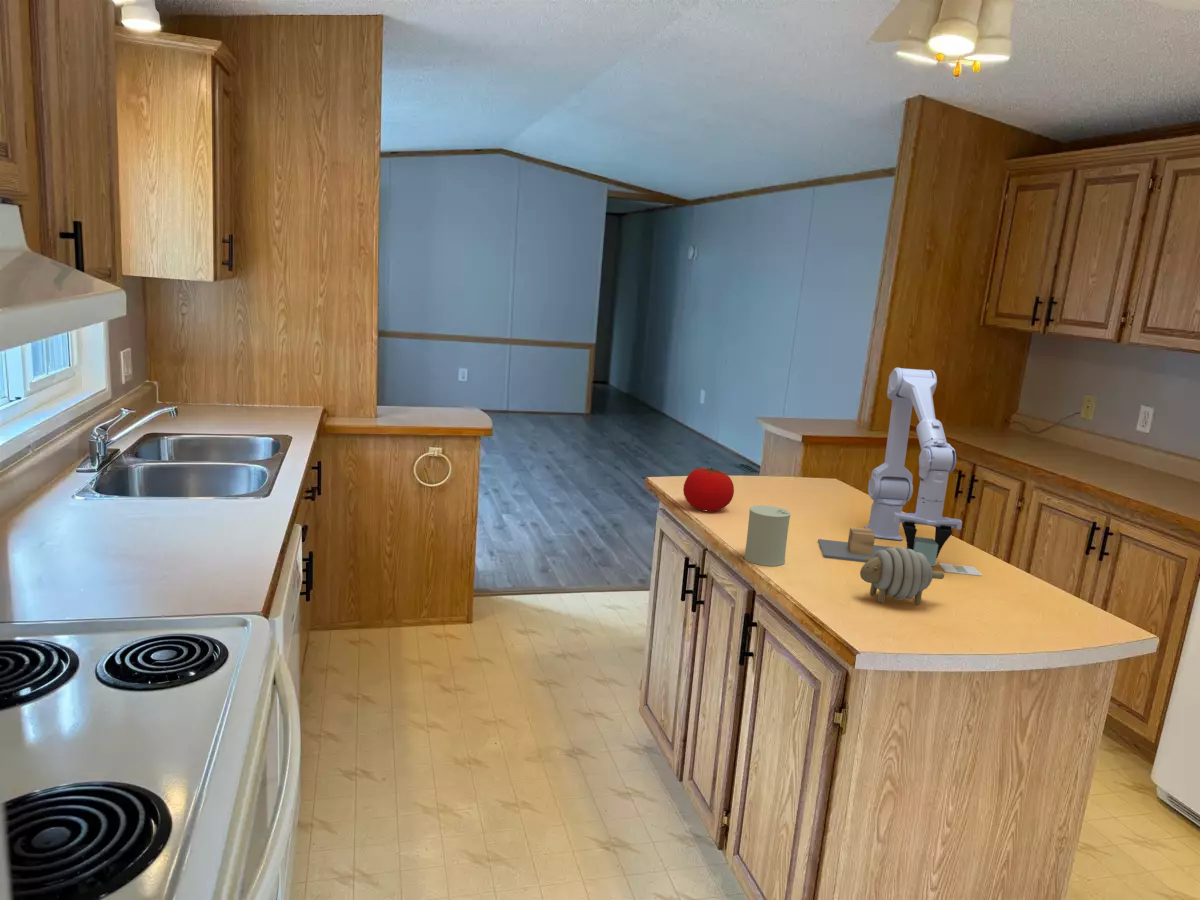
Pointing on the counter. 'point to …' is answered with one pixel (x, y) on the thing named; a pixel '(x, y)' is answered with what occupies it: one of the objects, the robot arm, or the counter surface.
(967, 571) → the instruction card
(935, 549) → the teal block
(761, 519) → the can
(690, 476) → the tomato
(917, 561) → the toy sheep
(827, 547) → the baseplate
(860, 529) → the brown wooden cube
